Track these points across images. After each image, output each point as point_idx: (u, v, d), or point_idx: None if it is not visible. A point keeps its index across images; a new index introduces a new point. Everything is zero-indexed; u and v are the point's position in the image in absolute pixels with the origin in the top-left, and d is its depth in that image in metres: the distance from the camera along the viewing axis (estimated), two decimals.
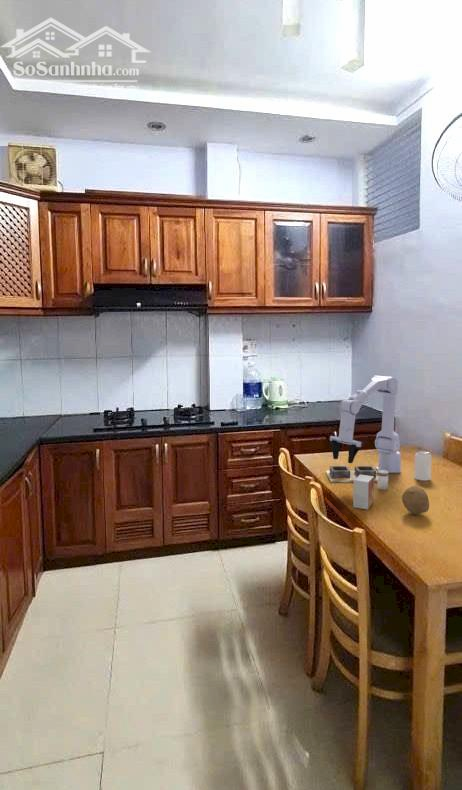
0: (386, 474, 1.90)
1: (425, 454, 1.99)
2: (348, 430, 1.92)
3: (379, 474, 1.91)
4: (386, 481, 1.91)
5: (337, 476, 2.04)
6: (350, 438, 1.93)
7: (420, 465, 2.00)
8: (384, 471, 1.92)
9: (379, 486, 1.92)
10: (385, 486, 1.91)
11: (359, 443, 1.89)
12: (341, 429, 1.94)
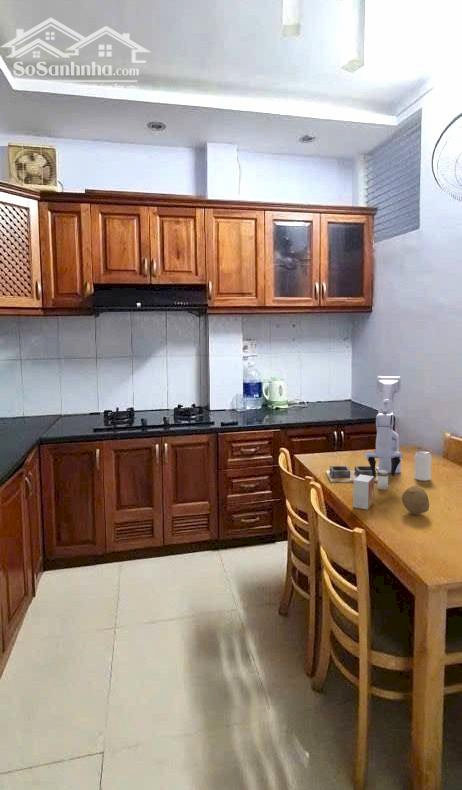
0: (386, 474, 1.90)
1: (425, 454, 1.99)
2: (390, 444, 1.88)
3: (379, 474, 1.91)
4: (386, 481, 1.91)
5: (337, 476, 2.04)
6: (391, 451, 1.90)
7: (420, 465, 2.00)
8: (384, 471, 1.92)
9: (379, 486, 1.92)
10: (385, 486, 1.91)
11: None
12: (384, 445, 1.88)
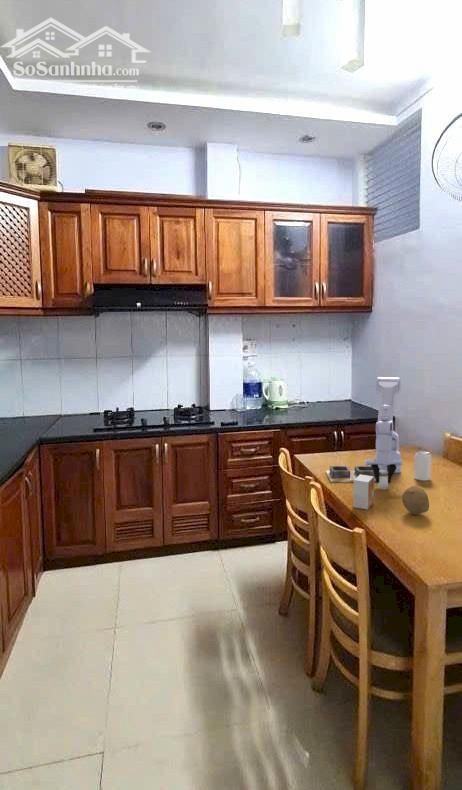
0: (386, 474, 1.90)
1: (425, 454, 1.99)
2: (390, 452, 1.89)
3: (379, 474, 1.91)
4: (386, 481, 1.91)
5: (337, 476, 2.04)
6: (390, 459, 1.91)
7: (420, 465, 2.00)
8: (384, 471, 1.92)
9: (379, 486, 1.92)
10: (385, 486, 1.91)
11: None
12: (384, 453, 1.88)
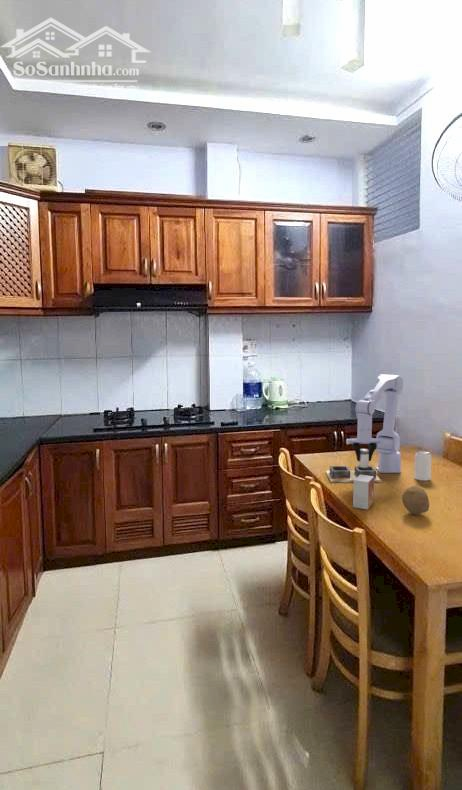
0: (367, 452, 1.95)
1: (425, 454, 1.99)
2: (370, 430, 1.94)
3: (360, 452, 1.96)
4: (367, 459, 1.96)
5: (337, 476, 2.04)
6: None
7: (420, 465, 2.00)
8: (365, 449, 1.97)
9: (360, 464, 1.97)
10: (366, 464, 1.96)
11: None
12: (364, 431, 1.93)
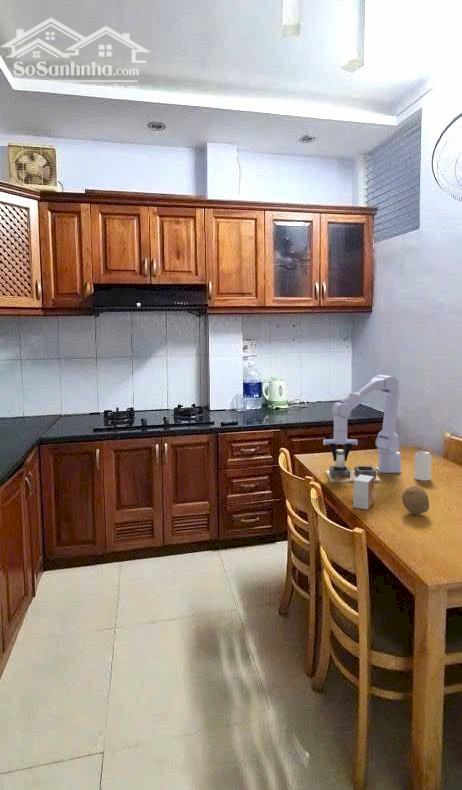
0: (343, 453, 2.04)
1: (425, 454, 1.99)
2: (346, 432, 2.03)
3: (336, 453, 2.05)
4: (343, 459, 2.04)
5: (337, 476, 2.04)
6: (346, 438, 2.04)
7: (420, 465, 2.00)
8: (341, 450, 2.06)
9: (336, 464, 2.05)
10: (342, 464, 2.05)
11: None
12: (340, 432, 2.02)
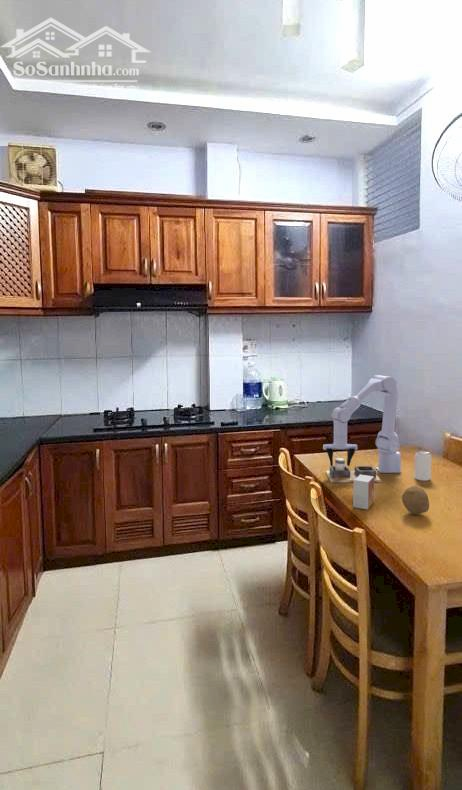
0: (342, 461, 2.05)
1: (425, 454, 1.99)
2: (346, 437, 2.03)
3: (336, 462, 2.05)
4: (342, 468, 2.05)
5: (337, 476, 2.04)
6: (346, 443, 2.05)
7: (420, 465, 2.00)
8: (341, 459, 2.06)
9: None
10: None
11: None
12: (340, 437, 2.02)
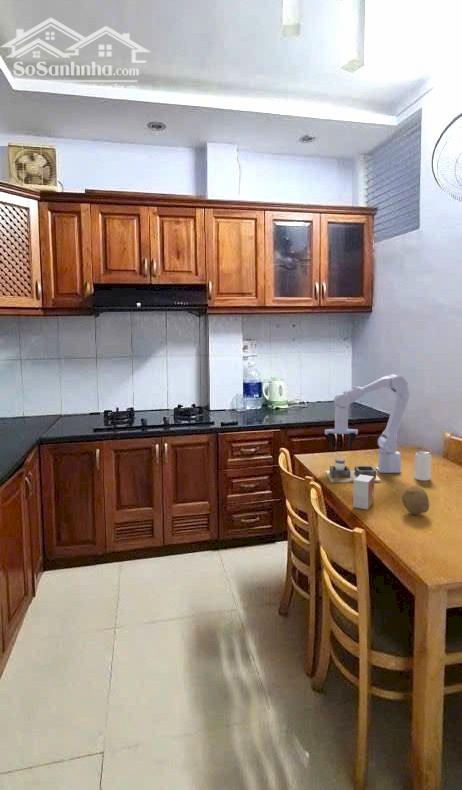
0: (342, 461, 2.05)
1: (425, 454, 1.99)
2: (347, 421, 2.11)
3: (336, 461, 2.05)
4: (343, 468, 2.05)
5: (337, 476, 2.04)
6: (347, 428, 2.13)
7: (420, 465, 2.00)
8: (341, 459, 2.06)
9: None
10: None
11: None
12: (341, 422, 2.10)
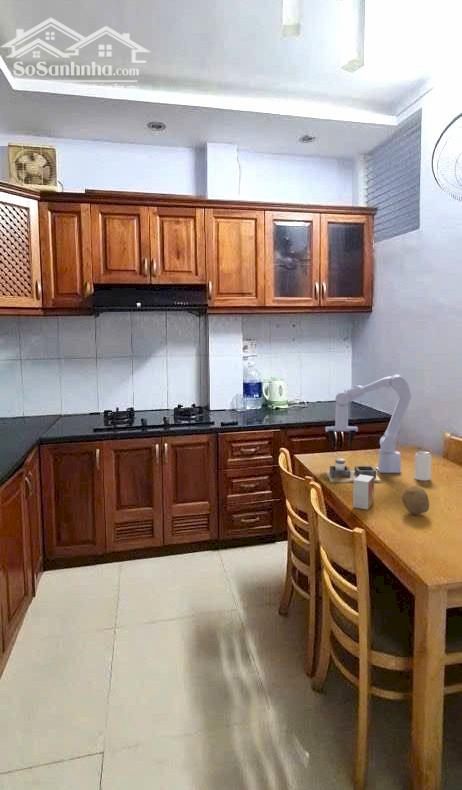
0: (343, 462, 2.04)
1: (425, 454, 1.99)
2: (347, 419, 2.16)
3: (336, 462, 2.05)
4: (343, 468, 2.05)
5: (337, 476, 2.04)
6: (347, 425, 2.18)
7: (420, 465, 2.00)
8: (341, 459, 2.06)
9: None
10: None
11: None
12: (341, 420, 2.15)
